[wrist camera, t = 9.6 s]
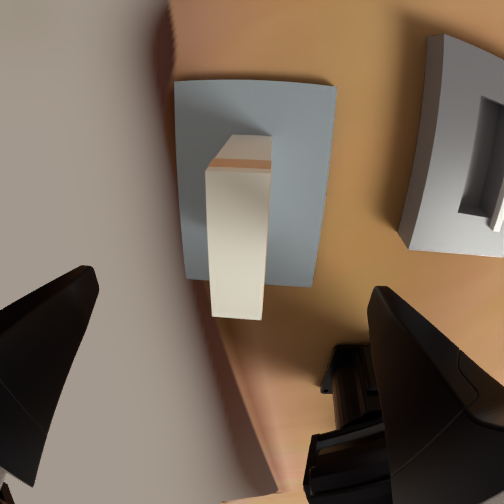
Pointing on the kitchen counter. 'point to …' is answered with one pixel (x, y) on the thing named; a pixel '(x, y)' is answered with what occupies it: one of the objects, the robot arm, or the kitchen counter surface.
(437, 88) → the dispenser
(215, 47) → the kitchen counter surface
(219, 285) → the tan banded white slab
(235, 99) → the mat
